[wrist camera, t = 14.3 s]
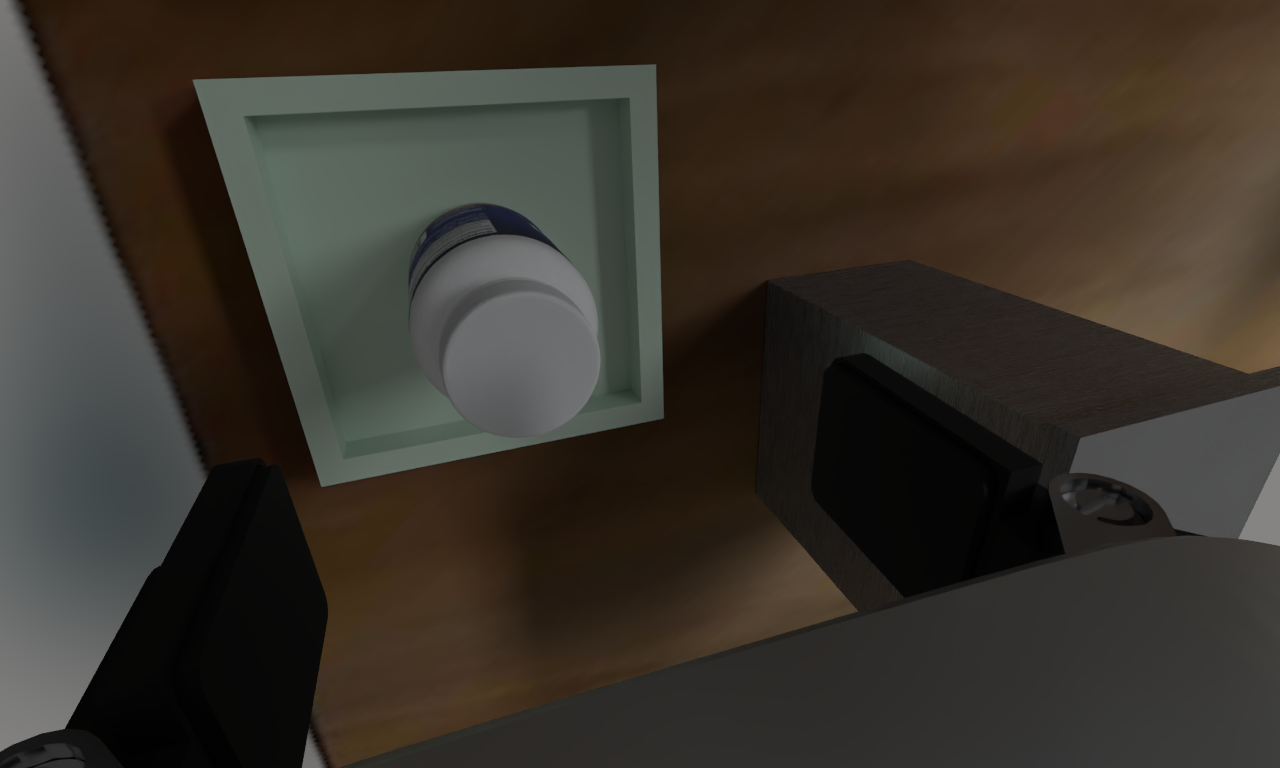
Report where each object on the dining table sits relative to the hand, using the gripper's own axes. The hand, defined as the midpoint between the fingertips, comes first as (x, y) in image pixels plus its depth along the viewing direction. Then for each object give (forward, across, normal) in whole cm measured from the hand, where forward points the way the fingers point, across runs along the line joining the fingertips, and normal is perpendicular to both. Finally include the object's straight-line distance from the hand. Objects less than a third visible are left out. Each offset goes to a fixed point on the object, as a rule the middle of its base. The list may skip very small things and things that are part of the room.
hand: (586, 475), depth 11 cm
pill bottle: (+15, +1, +1) cm, 15 cm away
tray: (+16, +1, +1) cm, 16 cm away
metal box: (+16, -16, +9) cm, 24 cm away
